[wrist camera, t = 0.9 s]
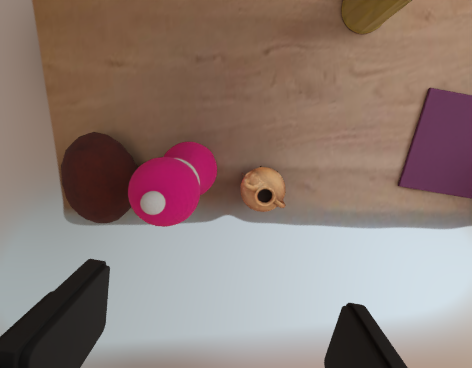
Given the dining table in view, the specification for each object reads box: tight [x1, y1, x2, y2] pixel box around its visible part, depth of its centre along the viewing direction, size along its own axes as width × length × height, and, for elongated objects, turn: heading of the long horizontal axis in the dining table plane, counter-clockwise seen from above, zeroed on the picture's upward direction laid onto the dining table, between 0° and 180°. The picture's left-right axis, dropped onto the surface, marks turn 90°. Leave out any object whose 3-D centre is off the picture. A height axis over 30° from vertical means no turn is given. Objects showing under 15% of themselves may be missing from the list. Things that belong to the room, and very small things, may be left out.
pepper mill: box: [128, 142, 217, 226], centre depth 28 cm, size 7×7×20 cm
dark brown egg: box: [61, 132, 137, 223], centre depth 33 cm, size 9×12×9 cm
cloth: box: [398, 88, 472, 198], centre depth 36 cm, size 14×13×1 cm
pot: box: [241, 166, 286, 212], centre depth 34 cm, size 6×8×6 cm
